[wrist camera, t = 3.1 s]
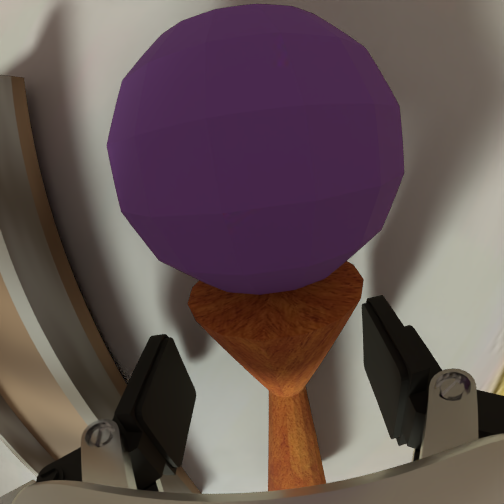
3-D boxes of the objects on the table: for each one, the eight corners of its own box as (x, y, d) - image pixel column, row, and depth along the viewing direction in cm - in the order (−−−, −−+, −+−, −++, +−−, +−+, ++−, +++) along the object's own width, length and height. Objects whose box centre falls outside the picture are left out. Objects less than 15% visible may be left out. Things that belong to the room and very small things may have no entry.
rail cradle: (201, 492, 16) (196, 526, 13) (77, 477, 17) (67, 503, 14) (24, 77, 8) (-27, 72, 5) (-85, 173, 9) (-118, 185, 6)
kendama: (233, 541, 11) (24, 37, 3) (253, 457, 16) (166, 65, 9) (351, 546, 9) (414, -62, 2) (353, 457, 15) (358, 35, 7)
